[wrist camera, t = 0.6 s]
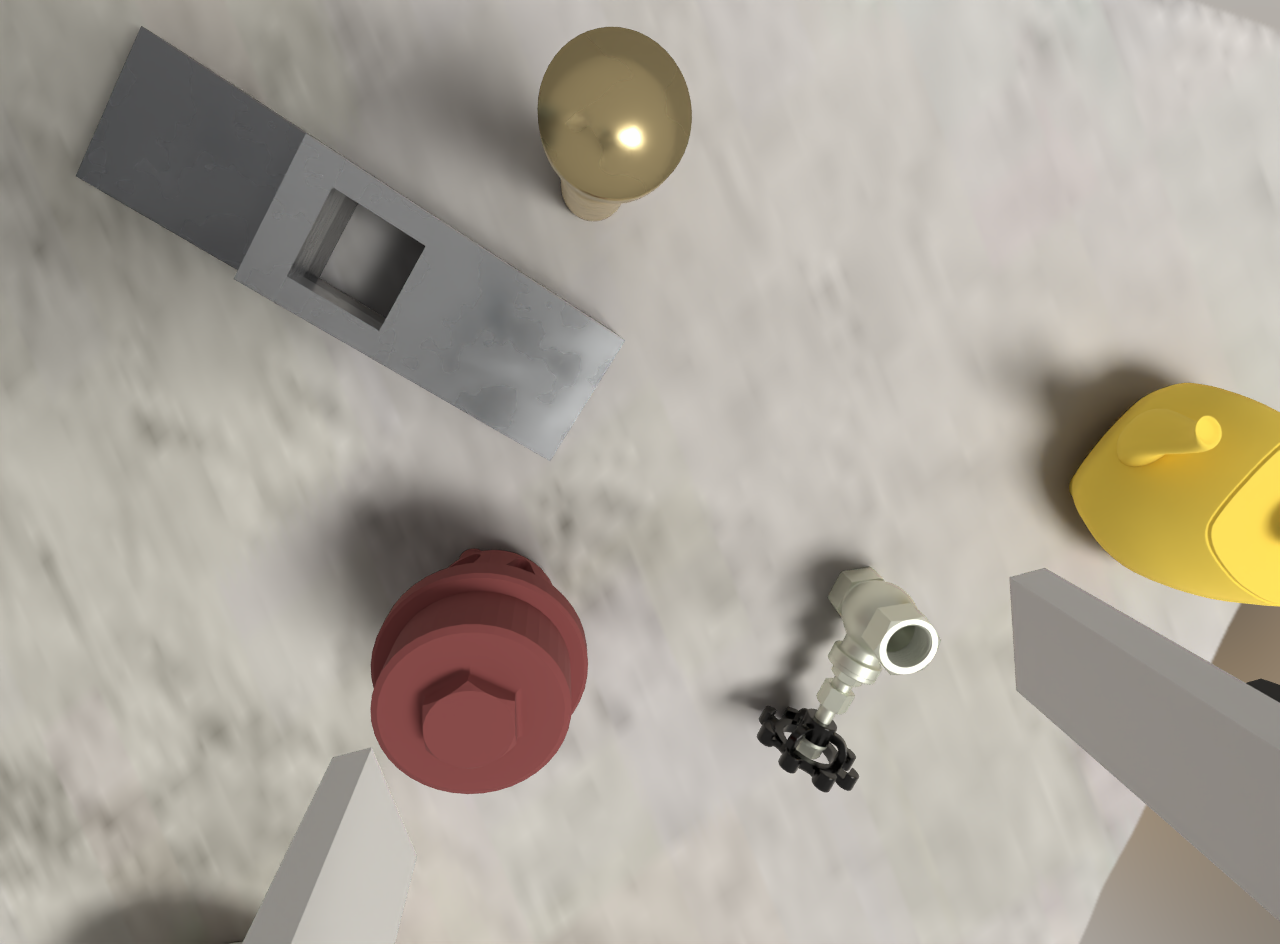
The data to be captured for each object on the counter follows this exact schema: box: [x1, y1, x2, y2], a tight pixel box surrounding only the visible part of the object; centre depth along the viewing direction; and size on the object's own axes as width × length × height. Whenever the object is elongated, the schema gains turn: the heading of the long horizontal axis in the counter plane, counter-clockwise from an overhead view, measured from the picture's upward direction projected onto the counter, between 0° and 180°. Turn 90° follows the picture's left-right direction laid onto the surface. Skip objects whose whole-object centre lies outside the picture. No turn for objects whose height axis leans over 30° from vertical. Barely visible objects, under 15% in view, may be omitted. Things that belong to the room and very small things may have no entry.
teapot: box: [1069, 383, 1280, 606], centre depth 36 cm, size 18×11×11 cm, turn 53°
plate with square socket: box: [76, 26, 625, 461], centre depth 31 cm, size 24×7×4 cm, turn 57°
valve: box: [757, 567, 941, 792], centre depth 39 cm, size 7×7×12 cm
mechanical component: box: [371, 549, 588, 794], centre depth 32 cm, size 12×10×10 cm
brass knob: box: [538, 27, 692, 221], centre depth 26 cm, size 5×5×14 cm
